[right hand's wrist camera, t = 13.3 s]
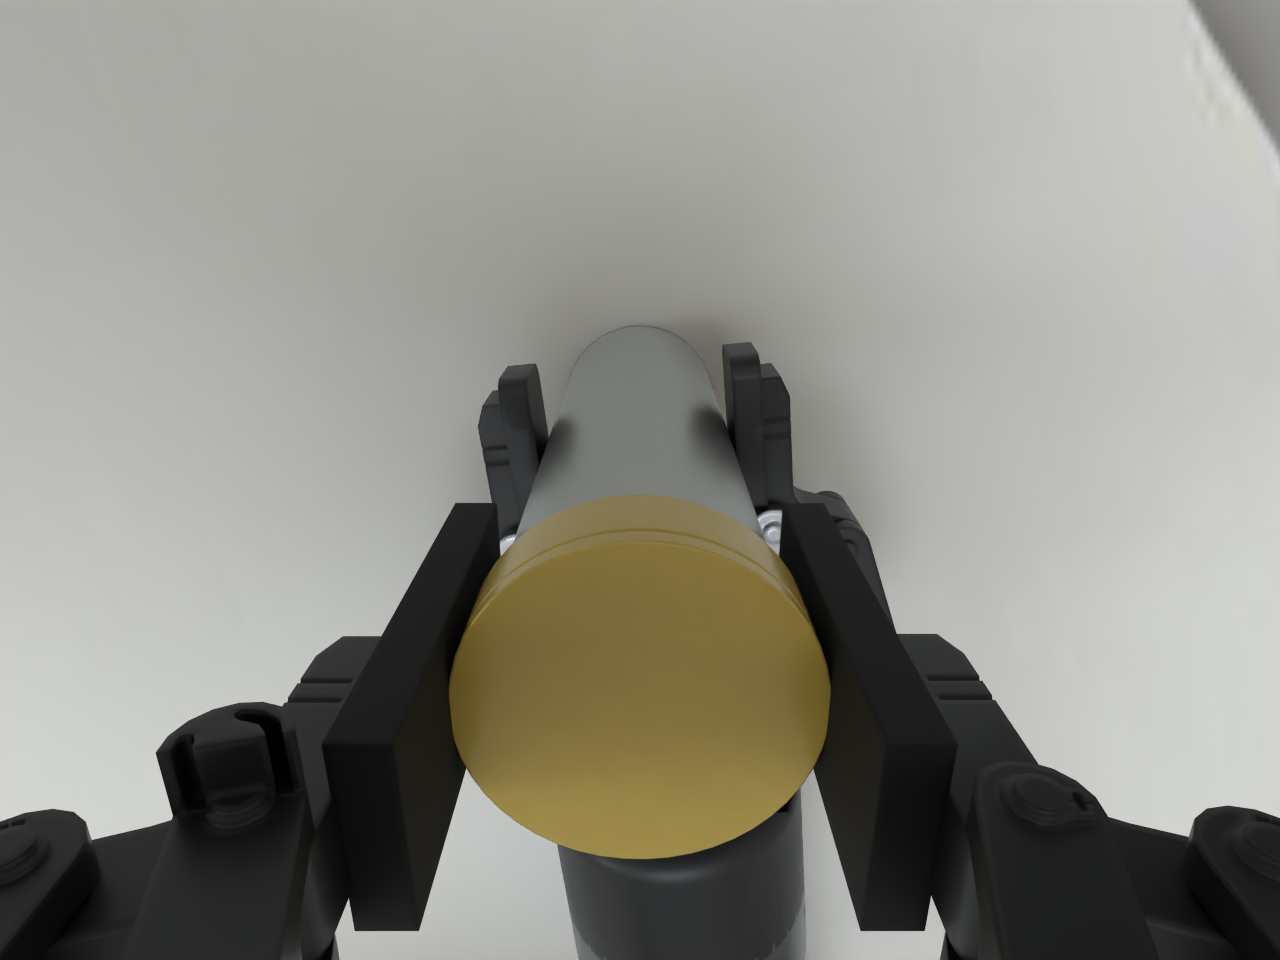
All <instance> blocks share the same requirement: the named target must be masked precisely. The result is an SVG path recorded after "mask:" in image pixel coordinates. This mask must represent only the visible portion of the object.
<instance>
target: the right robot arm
mask: <svg viewBox="0 0 1280 960" xmlns="http://www.w3.org/2000/svg"><path fill="white" fill-rule="evenodd" d="M500 557H501V554H500V540H499V526H498V512H497V503H455V505H454V507H453V509H452V511H451V512H450V514H449V516H448V518H447V519H446V521H445V523H444V525H443V527H442V528H441V530H440V532H439V534H438V536H437V537H436V539H435V541H434V543H433V545H432V546H431V548H430V550H429V552H428V554H427V555H426V557H425V559H424V561H423V563H422V564H421V566H420V568H419V570H418V572H417V573H416V575H415V577H414V579H413V581H412V582H411V584H410V586H409V588H408V590H407V591H406V593H405V595H404V597H403V599H402V600H401V602H400V604H399V606H398V607H397V609H396V611H395V613H394V615H393V616H392V618H391V620H390V622H389V624H388V625H387V627H386V629H385V631H384V633H383V634H382V636H343V637H342V638H340V639H339V640H337V641H336V642H335V643H333V644H332V645H331V646H329V647H328V648H326V649H325V650H324V651H322V652H321V653H320V654H318V655H317V656H316V657H315V658H314V660H313V661H312V663H311V664H310V666H309V667H308V669H307V670H306V672H305V673H304V675H303V676H302V678H301V683H300V684H297V685H296V687H295V688H294V690H293V691H292V693H291V694H290V696H289V697H288V703H284V705H283V706H282V707H281V706H277V705H273V704H269V703H265V702H250V703H237V704H233V705H229V706H225V707H221V708H217V709H213V710H211V711H209V712H207V713H204V714H202V715H200V716H198V717H196V718H194V719H191V720H189V721H188V722H186V723H185V724H184V725H182V726H181V727H180V728H178V729H177V730H175V731H174V732H173V733H171V734H170V735H169V736H168V737H167V738H166V740H165V741H164V742H163V744H162V745H161V746H160V748H159V749H158V750H157V752H156V755H157V759H158V763H159V766H160V770H161V774H162V777H163V781H164V785H165V788H166V792H167V795H168V799H169V803H170V806H171V810H172V814H173V818H172V820H170V821H167V822H164V823H161V824H157V825H154V826H151V827H146V828H142V829H138V830H133V831H129V832H125V833H121V834H116V835H112V836H108V837H103V838H99V839H95V840H91V837H90V834H89V831H88V827H87V824H86V822H85V821H84V820H83V819H82V818H80V817H79V816H78V815H77V814H75V813H74V812H70V811H63V810H56V809H49V810H42V811H35V812H29V813H24V814H21V815H18V816H15V817H12V818H10V819H7V820H4V821H1V822H0V960H339V954H338V947H337V942H336V937H335V931H336V928H337V926H338V923H339V921H340V918H341V916H342V913H343V911H344V908H345V906H346V903H347V901H348V898H349V901H350V906H351V912H352V917H353V923H354V929H355V931H419V929H420V925H421V922H422V918H423V915H424V911H425V908H426V905H427V901H428V898H429V894H430V891H431V887H432V884H433V881H434V877H435V874H436V870H437V867H438V863H439V860H440V856H441V853H442V850H443V846H444V843H445V839H446V836H447V832H448V829H449V826H450V822H451V819H452V815H453V812H454V808H455V805H456V801H457V798H458V795H459V791H460V788H461V784H462V781H463V777H464V774H465V771H466V766H465V764H464V763H463V761H462V759H461V757H460V754H459V752H458V749H457V746H456V744H455V741H454V737H453V729H452V720H451V711H450V701H449V676H450V672H451V668H452V664H453V660H454V656H455V654H456V651H457V648H458V646H459V643H460V641H461V638H462V635H463V633H464V630H465V628H466V625H467V622H468V620H469V617H470V614H471V612H472V609H473V607H474V604H475V601H476V599H477V597H478V594H479V592H480V590H481V587H482V585H483V583H484V580H485V579H486V577H487V576H488V574H489V572H490V571H491V569H492V568H493V566H494V564H495V563H496V562H497V560H498V559H499V558H500ZM779 557H780V559H781V560H782V561H783V563H784V564H785V566H786V567H787V568H788V570H789V571H790V573H791V575H792V576H793V578H794V580H795V582H796V584H797V586H798V588H799V590H800V593H801V595H802V598H803V600H804V603H805V606H806V608H807V611H808V613H809V616H810V619H811V621H812V624H813V626H814V629H815V632H816V634H817V637H818V639H819V642H820V645H821V648H822V650H823V653H824V656H825V659H826V662H827V665H828V670H829V676H830V682H831V695H830V706H829V716H828V725H827V733H826V739H825V742H824V745H823V748H822V751H821V753H820V755H819V757H818V759H817V761H816V763H815V765H814V768H813V769H814V772H815V776H816V779H817V782H818V786H819V789H820V793H821V796H822V800H823V803H824V806H825V810H826V813H827V817H828V820H829V824H830V827H831V831H832V834H833V837H834V841H835V844H836V848H837V851H838V855H839V858H840V861H841V865H842V868H843V872H844V875H845V879H846V882H847V886H848V889H849V892H850V896H851V899H852V903H853V906H854V910H855V913H856V916H857V920H858V923H859V927H860V930H861V931H925V926H926V920H927V915H928V909H929V904H930V898H931V896H932V898H933V901H934V903H935V906H936V908H937V911H938V913H939V916H940V918H941V921H942V923H943V926H944V928H945V936H944V942H943V947H942V952H941V957H940V960H1280V818H1278V817H1275V816H1272V815H1269V814H1266V813H1263V812H1261V811H1258V810H1254V809H1247V808H1241V807H1234V806H1222V807H1215V808H1208V809H1206V810H1205V811H1203V812H1202V813H1201V814H1200V815H1199V816H1197V817H1196V818H1195V819H1194V822H1193V826H1192V829H1191V832H1190V835H1189V837H1186V836H1182V835H1178V834H1173V833H1169V832H1165V831H1160V830H1156V829H1152V828H1147V827H1143V826H1139V825H1134V824H1130V823H1127V822H1123V821H1120V820H1117V819H1113V818H1110V817H1108V816H1107V814H1106V813H1105V811H1104V809H1103V808H1102V806H1101V805H1100V803H1099V802H1098V800H1097V798H1096V797H1095V796H1094V795H1093V794H1091V793H1090V792H1089V791H1088V790H1087V789H1085V788H1084V787H1083V786H1082V785H1081V784H1079V783H1078V782H1077V781H1076V780H1074V779H1072V778H1070V777H1068V776H1066V775H1064V774H1062V773H1060V772H1058V771H1056V770H1054V769H1052V768H1048V767H1045V766H1041V765H1039V764H1038V763H1037V761H1036V760H1035V758H1034V757H1033V755H1032V754H1031V752H1030V751H1029V749H1028V748H1027V747H1026V745H1025V744H1024V742H1023V741H1022V739H1021V738H1020V736H1019V735H1018V733H1017V732H1016V730H1015V729H1014V727H1013V726H1012V724H1011V723H1010V721H1009V720H1008V718H1007V717H1006V715H1005V714H1004V712H1003V711H1002V709H1001V708H1000V706H999V705H998V703H997V702H996V701H995V700H992V695H991V693H990V692H989V690H988V689H987V687H986V686H985V684H984V683H983V681H980V680H979V675H978V674H977V672H976V671H975V669H974V668H973V666H972V665H971V663H970V662H969V660H968V659H967V657H966V656H965V654H964V653H962V652H961V651H960V650H958V649H957V648H955V647H954V646H953V645H951V644H950V643H949V642H947V641H946V640H944V639H943V638H942V637H940V636H939V635H938V634H896V632H895V630H894V628H893V626H892V625H891V623H890V621H889V619H888V617H887V616H886V614H885V612H884V610H883V608H882V607H881V605H880V603H879V601H878V599H877V598H876V596H875V594H874V592H873V590H872V589H871V587H870V585H869V583H868V581H867V580H866V578H865V576H864V574H863V572H862V571H861V569H860V567H859V565H858V563H857V562H856V560H855V558H854V556H853V554H852V553H851V551H850V549H849V547H848V545H847V544H846V542H845V540H844V538H843V537H842V535H841V533H840V531H839V529H838V528H837V526H836V524H835V522H834V520H833V519H832V517H831V515H830V513H829V511H828V510H827V508H826V506H825V504H824V503H783V505H782V519H781V533H780V547H779Z"/></svg>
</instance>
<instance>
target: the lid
mask: <svg viewBox="0 0 1280 960" xmlns="http://www.w3.org/2000/svg"><path fill="white" fill-rule="evenodd" d="M830 695H831V682H830V676H829V670H828V665H827V662H826V659H825V656H824V653H823V650H822V648H821V645H820V642H819V639H818V637H817V634H816V632H815V629H814V626H813V624H812V621H811V619H810V616H809V613H808V611H807V608H806V606H805V603H804V600H803V598H802V595H801V593H800V590H799V588H798V586H797V584H796V582H795V580H794V578H793V576H792V575H791V573H790V571H789V570H788V568H787V567H786V566H785V564H784V563H783V561H782V560H781V559H780V557H779V556H778V555H777V554H776V553H775V552H774V550H773V549H772V548H771V547H770V546H769V545H768V544H767V543H766V542H765V541H764V540H763V539H762V538H760V537H759V536H758V535H756V534H755V533H754V532H753V531H751V530H750V529H749V528H747V527H746V526H745V525H743V524H741V523H740V522H738V521H736V520H734V519H733V518H731V517H729V516H728V515H726V514H724V513H721V512H719V511H717V510H714V509H712V508H709V507H707V506H705V505H701V504H698V503H694V502H691V501H687V500H684V499H679V498H673V497H666V496H659V495H623V496H612V497H606V498H601V499H597V500H592V501H588V502H584V503H581V504H579V505H576V506H573V507H570V508H567V509H564V510H562V511H560V512H558V513H556V514H554V515H552V516H550V517H548V518H546V519H544V520H543V521H541V522H540V523H538V524H537V525H535V526H534V527H532V528H531V529H529V530H528V531H526V532H525V533H524V534H523V535H522V536H521V537H519V538H518V539H517V540H516V541H515V542H514V543H513V544H512V545H510V546H509V547H508V549H507V550H506V551H505V552H504V553H503V555H502V556H501V557H500V558H499V559H498V560H497V562H496V563H495V564H494V566H493V568H492V569H491V571H490V572H489V574H488V576H487V577H486V579H485V580H484V583H483V585H482V587H481V590H480V592H479V594H478V597H477V599H476V601H475V604H474V607H473V609H472V612H471V614H470V617H469V620H468V622H467V625H466V628H465V630H464V633H463V635H462V638H461V641H460V643H459V646H458V648H457V651H456V654H455V656H454V660H453V664H452V668H451V672H450V676H449V701H450V711H451V720H452V729H453V737H454V741H455V744H456V746H457V749H458V752H459V754H460V757H461V759H462V761H463V763H464V764H465V766H466V768H467V770H468V771H469V773H470V775H471V777H472V778H473V779H474V781H475V782H476V783H477V785H478V786H479V787H480V789H481V790H482V791H483V792H484V794H485V795H486V796H487V797H488V798H489V799H490V800H491V801H492V802H493V803H494V804H495V805H496V806H497V807H498V808H499V809H500V810H502V811H503V812H504V813H505V814H507V815H508V816H509V817H511V818H512V819H513V820H514V821H516V822H517V823H519V824H520V825H522V826H524V827H525V828H527V829H529V830H530V831H532V832H533V833H535V834H537V835H539V836H541V837H543V838H546V839H548V840H550V841H552V842H554V843H556V844H559V845H562V846H565V847H568V848H571V849H574V850H577V851H581V852H585V853H590V854H594V855H599V856H605V857H614V858H622V859H655V858H668V857H674V856H680V855H685V854H691V853H694V852H698V851H701V850H705V849H709V848H712V847H715V846H717V845H720V844H722V843H725V842H727V841H730V840H732V839H734V838H736V837H738V836H740V835H742V834H744V833H746V832H748V831H749V830H751V829H753V828H755V827H756V826H758V825H759V824H760V823H762V822H763V821H765V820H766V819H768V818H769V817H771V816H772V815H773V814H774V813H775V812H776V811H778V810H779V809H780V808H781V807H782V806H783V805H784V804H785V803H787V802H788V801H789V799H790V798H791V797H792V796H793V795H794V794H795V793H796V791H797V790H798V789H799V788H800V787H801V786H802V784H803V783H804V781H805V780H806V778H807V777H808V775H809V774H810V772H811V771H812V769H813V768H814V765H815V763H816V761H817V759H818V757H819V755H820V753H821V751H822V748H823V745H824V742H825V739H826V733H827V725H828V716H829V706H830Z"/></svg>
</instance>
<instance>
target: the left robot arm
mask: <svg viewBox="0 0 1280 960" xmlns="http://www.w3.org/2000/svg"><path fill="white" fill-rule="evenodd" d="M722 355H723V371H724V386H725V401H726V417H727V430H728V433H729V436H730V439H731V442H732V445H733V448H734V451H735V454H736V457H737V459H738V462H739V465H740V468H741V471H742V474H743V477H744V480H745V483H746V486H747V489H748V492H749V495H750V498H751V500H752V503H753V506H754V509H755V512H756V515H757V518H758V521H759V524H760V527H761V530H762V533H763V536H764V539H765V541H766V543H767V544H768V545H769V546H770V547H771V548H772V549H773V550H774V552H775V553H776V554H777V555H778V556H779V547H780V533H781V519H782V505H783V503H824V504H825V506H826V508H827V510H828V511H829V513H830V515H831V517H832V519H833V520H834V522H835V524H836V526H837V528H838V529H839V531H840V533H841V535H842V537H843V538H844V540H845V542H846V544H847V545H848V547H849V549H850V551H851V553H852V554H853V556H854V558H855V560H856V562H857V563H858V565H859V567H860V569H861V571H862V572H863V574H864V576H865V578H866V580H867V581H868V583H869V585H870V587H871V589H872V590H873V592H874V594H875V596H876V598H877V599H878V601H879V603H880V605H881V607H882V608H883V610H884V612H885V614H886V616H887V617H888V619H889V621H890V623H891V625H892V626H893V628H894V630H895V627H894V624H893V620H892V617H891V614H890V610H889V607H888V603H887V600H886V596H885V593H884V589H883V586H882V583H881V579H880V576H879V572H878V569H877V565H876V562H875V558H874V555H873V552H872V548H871V545H870V541H869V539H868V537H867V536H866V534H865V532H864V531H863V529H862V527H861V526H860V524H859V523H858V521H857V519H856V518H855V516H854V515H853V513H852V511H851V510H850V508H849V507H848V505H847V504H846V502H845V500H844V499H843V498H842V497H841V496H840V495H839V494H837V493H835V492H832V491H822V492H819V493H816V494H815V493H811V492H807V491H803V490H800V489H798V488H796V487H794V486H793V475H792V447H791V421H790V396H789V394H788V391H787V389H786V387H785V385H784V383H783V381H782V379H781V377H780V375H779V374H778V372H777V371H776V369H775V368H774V366H773V365H772V363H768V364H760V360H759V355H758V353H757V351H756V350H755V348H754V347H753V345H752V344H751V342H746V343H736V344H726V345H723V348H722ZM478 429H479V435H480V440H481V445H482V448H483V456H484V461H485V464H486V472H487V477H488V482H489V488H490V493H491V498H492V503H497V512H498V526H499V540H500V554H501V556H502V555H503V553H504V552H505V551H506V550H507V549H508V547H509V546H510V545H512V544H513V542H514V539H515V536H516V533H517V530H518V528H519V525H520V522H521V519H522V516H523V513H524V510H525V507H526V504H527V501H528V498H529V495H530V492H531V490H532V487H533V484H534V481H535V478H536V475H537V472H538V469H539V466H540V463H541V460H542V457H543V454H544V452H545V449H546V446H547V443H548V440H549V436H548V430H547V423H546V417H545V410H544V404H543V397H542V391H541V384H540V378H539V372H538V368H537V366H536V364H525V365H515V366H508V367H507V368H506V370H505V371H504V373H503V374H502V376H501V377H500V379H499V383H498V390H496V391H492V393H491V394H490V396H489V397H488V399H487V400H486V402H485V403H484V404H483V406H482V411H481V415H480V420H479V424H478ZM895 632H896V631H895ZM557 845H558V851H559V856H560V862H561V867H562V872H563V878H564V883H565V888H566V894H567V899H568V904H569V909H570V915H571V921H572V926H573V932H574V937H575V942H576V948H577V953H578V957H579V960H805V951H806V922H805V892H804V868H803V842H802V815H801V789H800V788H799V789H798V790H797V791H796V793H795V794H794V795H793V796H792V797H791V798H790V799H789V801H788V802H787V803H785V804H784V805H783V806H782V807H781V808H780V809H779V810H778V811H776V812H775V813H774V814H773V815H772V816H771V817H769V818H768V819H766V820H765V821H763V822H762V823H760V824H759V825H758V826H756V827H755V828H753V829H751V830H749V831H748V832H746V833H744V834H742V835H740V836H738V837H736V838H734V839H732V840H730V841H727V842H725V843H722V844H720V845H717V846H715V847H712V848H709V849H705V850H701V851H698V852H694V853H691V854H685V855H680V856H674V857H668V858H655V859H622V858H614V857H605V856H599V855H594V854H590V853H585V852H581V851H577V850H574V849H571V848H568V847H565V846H562V845H559V844H557Z"/></svg>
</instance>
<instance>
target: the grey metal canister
mask: <svg viewBox="0 0 1280 960" xmlns="http://www.w3.org/2000/svg"><path fill="white" fill-rule="evenodd" d="M623 495H659V496H666V497H673V498H679V499H684V500H687V501H691V502H694V503H698V504H701V505H705V506H707V507H709V508H712V509H714V510H717V511H719V512H721V513H724V514H726V515H728V516H729V517H731V518H733V519H734V520H736V521H738V522H740V523H741V524H743V525H745V526H746V527H747V528H749V529H750V530H751V531H753V532H754V533H755V534H756V535H758V536H759V537H760V538H762V539H763V540H764V541H765V539H764V536H763V533H762V530H761V527H760V524H759V521H758V518H757V515H756V512H755V509H754V506H753V503H752V500H751V498H750V495H749V492H748V489H747V486H746V483H745V480H744V477H743V474H742V471H741V468H740V465H739V462H738V459H737V457H736V454H735V451H734V448H733V445H732V442H731V439H730V436H729V433H728V430H727V427H726V424H725V421H724V418H723V416H722V413H721V410H720V407H719V404H718V401H717V398H716V395H715V392H714V389H713V386H712V383H711V380H710V378H709V375H708V372H707V369H706V367H705V365H704V363H703V361H702V360H701V358H700V357H699V355H698V354H697V353H696V352H695V351H694V349H693V348H692V347H691V346H690V345H689V344H687V343H686V342H685V341H684V340H682V339H681V338H679V337H678V336H676V335H674V334H672V333H670V332H668V331H665V330H662V329H658V328H654V327H648V326H633V327H625V328H621V329H617V330H615V331H612V332H609V333H607V334H606V335H604V336H602V337H600V338H599V339H597V340H596V341H595V342H593V343H592V344H591V345H590V346H589V347H588V348H587V349H586V350H585V351H584V352H583V353H582V355H581V356H580V357H579V359H578V361H577V362H576V364H575V366H574V368H573V371H572V373H571V376H570V378H569V381H568V384H567V387H566V390H565V393H564V396H563V399H562V402H561V405H560V408H559V411H558V414H557V416H556V419H555V422H554V425H553V428H552V431H551V434H550V437H549V440H548V443H547V446H546V449H545V452H544V454H543V457H542V460H541V463H540V466H539V469H538V472H537V475H536V478H535V481H534V484H533V487H532V490H531V492H530V495H529V498H528V501H527V504H526V507H525V510H524V513H523V516H522V519H521V522H520V525H519V528H518V530H517V533H516V536H515V539H514V542H515V541H516V540H517V539H518V538H519V537H521V536H522V535H523V534H524V533H525V532H526V531H528V530H529V529H531V528H532V527H534V526H535V525H537V524H538V523H540V522H541V521H543V520H544V519H546V518H548V517H550V516H552V515H554V514H556V513H558V512H560V511H562V510H564V509H567V508H570V507H573V506H576V505H579V504H581V503H584V502H588V501H592V500H597V499H601V498H606V497H612V496H623ZM514 542H513V543H514ZM765 542H766V541H765Z"/></svg>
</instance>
